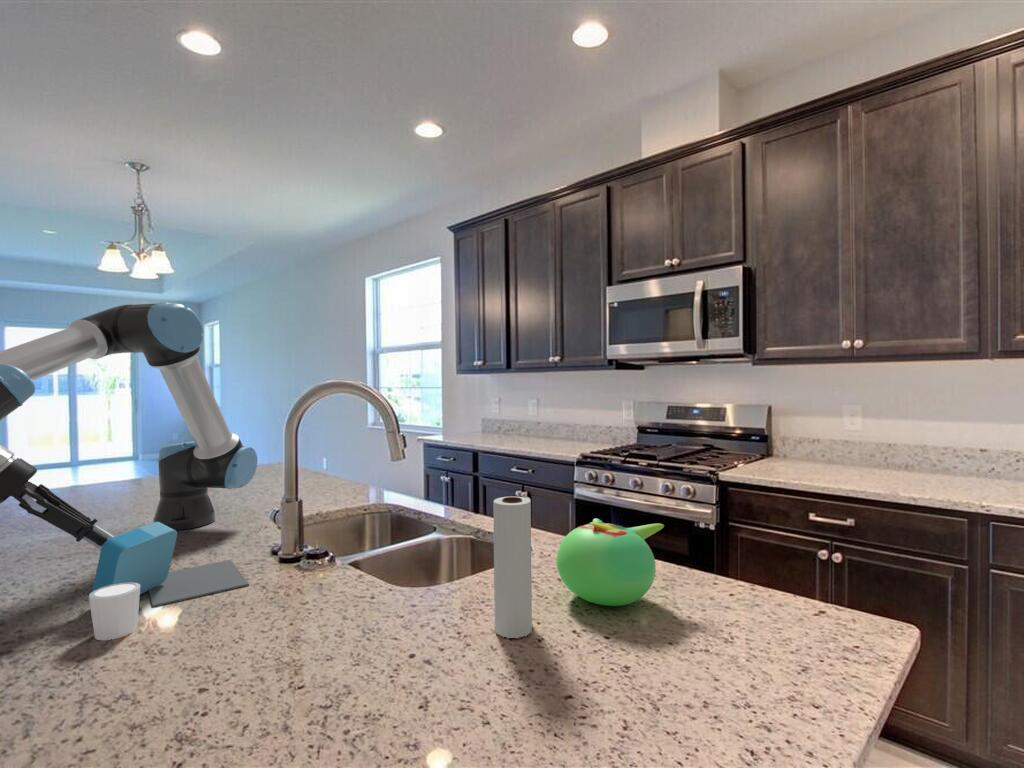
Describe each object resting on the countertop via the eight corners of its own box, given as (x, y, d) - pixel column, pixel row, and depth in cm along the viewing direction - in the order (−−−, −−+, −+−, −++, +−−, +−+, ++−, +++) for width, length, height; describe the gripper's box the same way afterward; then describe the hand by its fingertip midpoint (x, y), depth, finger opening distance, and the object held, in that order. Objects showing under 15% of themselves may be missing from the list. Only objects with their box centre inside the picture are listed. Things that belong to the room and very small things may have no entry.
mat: (152, 607, 99) (152, 605, 99) (145, 578, 113) (145, 576, 113) (248, 585, 108) (248, 583, 108) (230, 561, 123) (230, 559, 123)
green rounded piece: (539, 600, 100) (538, 520, 99) (592, 574, 112) (591, 503, 112) (625, 631, 87) (625, 540, 87) (674, 598, 100) (674, 519, 100)
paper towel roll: (505, 643, 84) (503, 505, 83) (488, 627, 89) (487, 497, 89) (545, 632, 87) (544, 499, 87) (527, 618, 93) (525, 492, 92)
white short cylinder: (150, 627, 91) (149, 585, 91) (105, 645, 85) (104, 601, 85) (125, 619, 94) (124, 579, 94) (80, 637, 88) (79, 594, 87)
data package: (149, 572, 110) (161, 519, 108) (166, 582, 109) (179, 528, 107) (89, 599, 99) (102, 540, 97) (108, 610, 98) (121, 550, 96)
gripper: (-19, 485, 96) (102, 559, 106) (-33, 498, 85) (103, 578, 96) (21, 452, 99) (135, 527, 109) (12, 460, 88) (139, 542, 99)
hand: (120, 551), depth 103 cm, fingers closed
